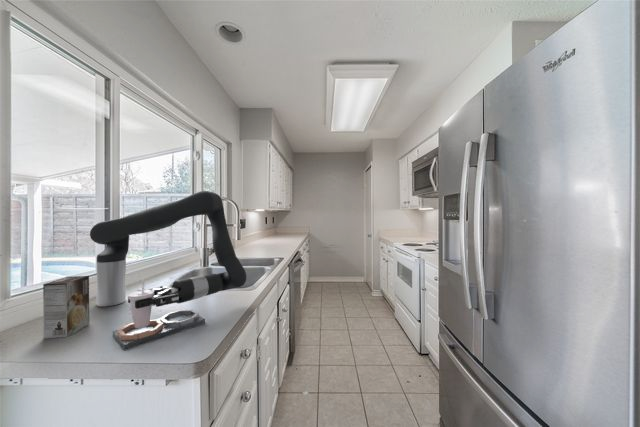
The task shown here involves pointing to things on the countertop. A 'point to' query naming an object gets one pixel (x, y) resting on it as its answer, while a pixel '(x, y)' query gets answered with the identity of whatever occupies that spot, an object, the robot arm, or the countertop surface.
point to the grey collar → (182, 322)
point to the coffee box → (65, 306)
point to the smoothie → (144, 313)
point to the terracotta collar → (139, 335)
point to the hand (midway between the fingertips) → (132, 302)
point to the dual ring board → (160, 334)
